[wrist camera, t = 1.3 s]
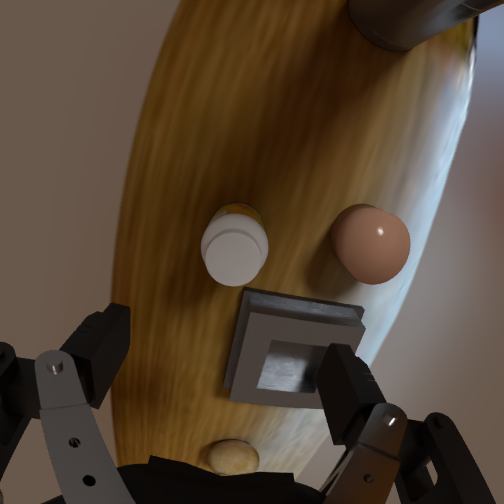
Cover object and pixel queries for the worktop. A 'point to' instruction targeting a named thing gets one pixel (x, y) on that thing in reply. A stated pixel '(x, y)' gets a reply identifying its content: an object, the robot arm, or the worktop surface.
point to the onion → (233, 458)
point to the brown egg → (370, 243)
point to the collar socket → (286, 347)
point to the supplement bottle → (234, 245)
